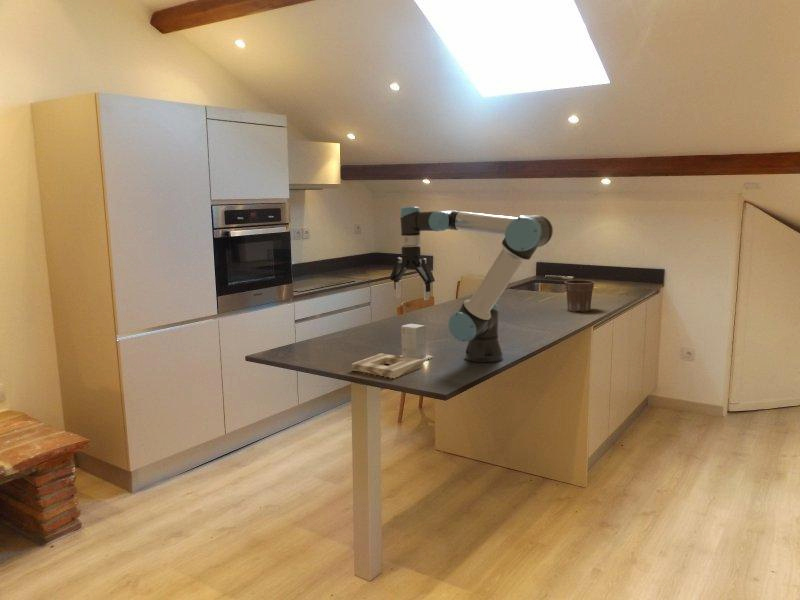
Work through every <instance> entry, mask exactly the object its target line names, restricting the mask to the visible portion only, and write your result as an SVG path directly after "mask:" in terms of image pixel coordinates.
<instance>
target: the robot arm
mask: <svg viewBox="0 0 800 600" xmlns="http://www.w3.org/2000/svg"><path fill="white" fill-rule="evenodd" d="M446 230H452V231H462V232H470V233H477V234H484V235H485V234H486V235H493V236H499V237H500V236H501V237H503V240H502V241H501V246H502V249H501V251H500V252H499V254H497V255H498V256H497V257H496V259H495V260H494V261H493V263H492V265H491V267H490V268H489V270H488V271H487V272H486V274H485V276H484V278H482V281H480V283H479V285H478V287H477V289H476V290H475V292H474V293H473V295H472V296H471V298H470V299H465V300H464V301H463V303H462V305H461V306H460V308H459V309H458V311H455V312H454V313H452V314H451V315H450V316H449V319H448V323H447V327H448V330H449V333H450V334H451V336H452V337H453V338H454V339H456V341H458V342H464V343H465V342H467V345H466V348H465V352H464V358H465V360H467V361H470V362H473V363H493V362H499V361H502V360H503V359H504V351H503V350H502V347H501V343H500V340H499V306H498V304H497V302H498V300H499V298H500V297H501V295H502V294H503V292H504V291H505V289H506V288H507V286H509V285H508V284H510V282H511V280H512V279H513V277H514V276H515V274H516V273H517V272H518V270H519V269H520V266H522V263H524V261H529V260H530V259H531V258H532V256H533V255H534V254H535V252H536V251H537V250H538V248H540V247H544V246H545V245H547V244H548V243H549V242H550V241H551V239H552V236H553V233H554V230H553V224H552V222H551V221H550V220H549V219H548V218H547V217H545V216H543V215H541V214H539V215H538V214H534V215H523V214H521V215H520V216H519V217H516V216H507V215H496V214H487V213H480V212H479V213H478V212H469V211H458V210H455V209H447V210H446V209H445V210H433V211H431V210H430V211H421V210H420V207H419V206H403V207H401V208H400V232H401V234H400V236H401V239H400V240H401V243H400V244H401V256H402V257H400V256H399V257H396V258H395V263H394V266H393V269H392V271H391V274H390V277H389V280H390V281H393V284H394V285H393V286H394V290H395V298H396V299H399V298H402V281H400V280H401V278H403V276H404V274H405V273H406V271H407V270H412V271H413V270H415V271H416V273H418V274H419V276H420V278H421V279H422V281H423V282H424V283H422V284H423V301H429V300H430V292H431V290H432V289H431V284H432V283H434V282H435V281H436V279H435V277H434V275H433V273H432V270H431V268H430V266H429V262H428V258H426V257H425V258H421V246H420V245H421V232H424V231H425V232H426V231H427V232H441V231H442V232H443V231H446Z"/></svg>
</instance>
